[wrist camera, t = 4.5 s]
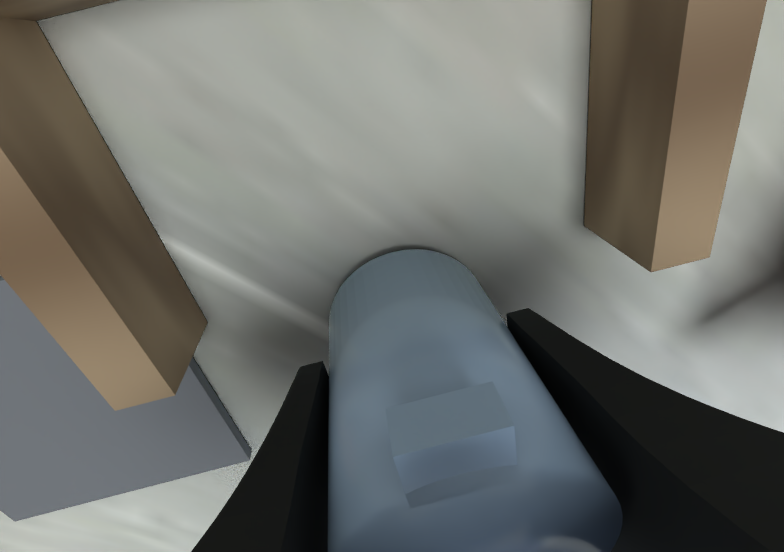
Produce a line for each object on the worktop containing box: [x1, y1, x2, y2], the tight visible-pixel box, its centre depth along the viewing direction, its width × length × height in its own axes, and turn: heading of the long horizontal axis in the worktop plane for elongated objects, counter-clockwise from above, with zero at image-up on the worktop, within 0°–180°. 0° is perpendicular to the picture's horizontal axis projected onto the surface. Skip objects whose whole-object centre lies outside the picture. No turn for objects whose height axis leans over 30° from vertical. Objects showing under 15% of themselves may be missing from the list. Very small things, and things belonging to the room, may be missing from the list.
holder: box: [0, 0, 767, 411], centre depth 9 cm, size 10×15×3 cm, turn 102°
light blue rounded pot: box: [328, 249, 623, 552], centre depth 10 cm, size 8×5×7 cm, turn 12°
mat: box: [0, 276, 252, 521], centre depth 13 cm, size 9×9×1 cm
